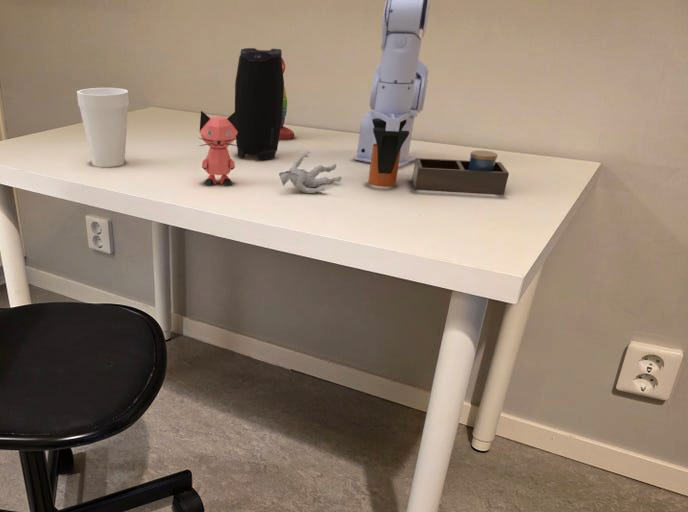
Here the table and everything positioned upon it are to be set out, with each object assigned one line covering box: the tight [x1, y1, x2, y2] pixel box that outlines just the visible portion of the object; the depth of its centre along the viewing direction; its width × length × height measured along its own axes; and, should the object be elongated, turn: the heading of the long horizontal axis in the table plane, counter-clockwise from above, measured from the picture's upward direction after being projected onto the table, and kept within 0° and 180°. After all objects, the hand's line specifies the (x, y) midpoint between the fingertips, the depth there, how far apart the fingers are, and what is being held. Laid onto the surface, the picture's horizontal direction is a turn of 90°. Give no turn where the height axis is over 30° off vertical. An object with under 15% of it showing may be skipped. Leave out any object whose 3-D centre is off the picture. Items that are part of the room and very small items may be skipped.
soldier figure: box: [278, 150, 342, 194], centre depth 108 cm, size 8×5×12 cm
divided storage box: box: [411, 157, 510, 196], centre depth 108 cm, size 7×14×4 cm, turn 78°
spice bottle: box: [368, 143, 401, 187], centre depth 109 cm, size 5×5×8 cm
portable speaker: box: [234, 47, 285, 161], centre depth 124 cm, size 9×9×20 cm
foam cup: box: [76, 87, 130, 168], centre depth 121 cm, size 10×9×13 cm
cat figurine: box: [198, 110, 239, 186], centre depth 109 cm, size 7×7×12 cm
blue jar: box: [468, 150, 499, 171], centre depth 107 cm, size 4×4×6 cm
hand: (384, 167), depth 109 cm, fingers open, 7 cm apart
